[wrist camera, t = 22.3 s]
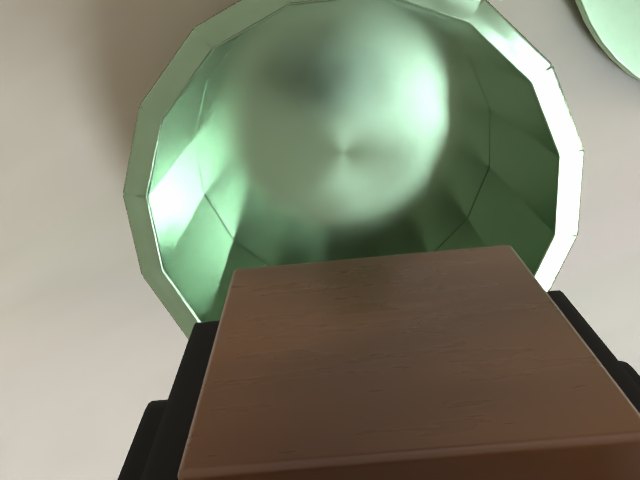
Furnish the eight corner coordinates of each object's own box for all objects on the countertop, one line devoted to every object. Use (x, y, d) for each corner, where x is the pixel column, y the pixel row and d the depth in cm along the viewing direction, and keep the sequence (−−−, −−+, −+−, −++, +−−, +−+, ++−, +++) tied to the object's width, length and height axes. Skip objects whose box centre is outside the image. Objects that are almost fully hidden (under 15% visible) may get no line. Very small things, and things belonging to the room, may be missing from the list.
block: (510, 242, 10) (661, 434, 6) (503, 460, 12) (614, 732, 7) (232, 267, 10) (173, 475, 6) (267, 480, 12) (242, 758, 8)
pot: (509, -122, 23) (609, -176, 15) (500, 325, 31) (563, 440, 23) (136, -81, 24) (48, -113, 16) (219, 350, 31) (187, 471, 24)
